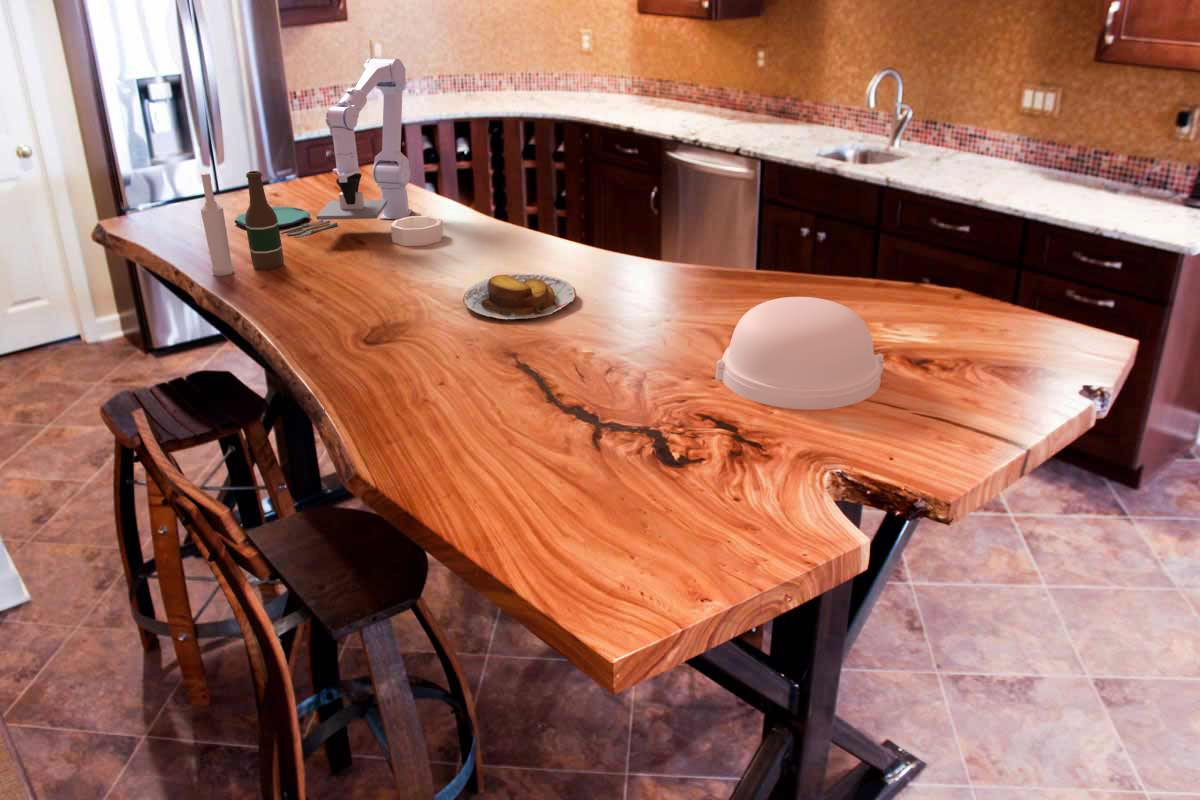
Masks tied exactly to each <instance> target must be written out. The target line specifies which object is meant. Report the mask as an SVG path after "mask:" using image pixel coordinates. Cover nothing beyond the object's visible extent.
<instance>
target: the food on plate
mask: <svg viewBox="0 0 1200 800" xmlns="http://www.w3.org/2000/svg"><path fill="white" fill-rule="evenodd" d="M575 299H577V292H576V288H574V286H573V285H571V283H570V282H569V281H566V280H564V279H561V278H558V277H555V276H549V275H545V274H533V273H526V274H525V273H515V274H497V275H494V276H491V278H489V279H484V280H483V281H482V280H481V281H480V282H479V283H476V284H475V285H473V286H471V287H469V288H468V289H467V291H466V292H464V295H463V297H462V301H461V302H462V303H463V304H464V306H465V307H466V308H468V310H470V311H473V313H475V314H477V315H483V316H486V317H488V318H489V317H492V318H494V319H495V318H496V319H498V320H499V319H500V320H501V319H502V320H507V321H508V320H516V319H518V320H519V319H527V320H528V319H536V318H539V317H545V316H548V315H552V314H553V313H555V312H557V311H558V310H561V309H562V308H564V307H566V306H568V305H569V303H570V302H572V303H573V302H574V301H575ZM493 313H495V314H499V315H495V314H493ZM536 313H539V314H536ZM568 313H569V311H566V314H568ZM501 315H502V316H501Z"/></svg>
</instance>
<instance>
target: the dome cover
mask: <svg viewBox="0 0 1200 800" xmlns="http://www.w3.org/2000/svg"><path fill="white" fill-rule="evenodd" d="M729 344H730V345H729V346H728V347H727V348H726V349H725V351H724V353H723V355H722V357H721V359H720V358H719V359H718V360H717V362H716V369H715V371H716V372H715V380H716V381H717V380H718V381H722V383H723V384H724V385H725V386H726V387H727V388H728V389H729V390H731V392H734V393H735V394H736V395H738V396H740V397H742V398H744V399H747V400H750V401H753V402H755V403H759V404H763V405H767V406H771V407H776V408H783V409H791V410H806V411H807V410H810V411H811V410H813V411H814V410H828V409H837V408H842V407H846V406H851V405H854V404H857V403H860V402H863V401H865V400H867V399H868V398H870V397H871V396H873V395H874V394H875V393H876V392H877V391H878V390H879V388H880V386H881V376H882V375H881V374H883V373H884V354H883V353H877V354H876V353H875V349H874V342H873V338H872V335H871V331H870V329H869V327H868V326H867V324H866V322H865V321H864V320H863V318H862V317H861V316H860V315H858V314H857V313H856V312H855V311H854V310H853V309H850V308H849V307H847V306H845V305H843V304H840V303H838V302H836V301H833V300H828V299H824V298H819V297H811V296H810V297H809V296H788V297H787V296H786V297H779V298H775V299H770V300H767V301H764V302H762V303H760V304H757V305H755V306H753V307H752V308H750V309H749V310H748V311H746V312H745V313H744V315H743V316H742V317H740V320H739V321H738V322H737V324H736V325H735V328H734V330H733V333H732V336H731V340H730V343H729Z"/></svg>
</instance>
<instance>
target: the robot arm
mask: <svg viewBox="0 0 1200 800" xmlns="http://www.w3.org/2000/svg"><path fill="white" fill-rule="evenodd" d="M374 88H376V89H378V90H379V91H381V93H382V94H383V95H382V96H383V102H382V103H383V104H382V105H383V106H382V107H383V108H382V109H383V111H382V143H381V144H382V145H381V147H382V148H381V149H382V150H381V151H380V152H379V153H378V154H377V155H375V156H374V162H373V166H372V169H371V170H372V171H371V175H372V179H373V181H374V183H376V184H377V187H380V188H379V189H380V197H381V200H387V204H386V206H385V207H384V209H383V210H382V213H381V214H380V218H379V219H380V220H398V219H402V218H406V217H410V215H411V214H412V211H413V208H410V206H409V200H408V191H407V190H408V189H407V188H406V186H408V184H409V183H410V181H411V176H412V172H411V167H410V160H409V158H408V157H407V156H405V154H403V152H401V144H402V143H401V142H402V120H403V119H402V115H403V114H402V113H403V91H405V90H406V67H405V65H404V64H403V62H402V60H401V59H400V58H373V57H369V58H367V59H366V61H365V63H364V64H363V74H362V75H361V77H360V79H359V80H358V82H357V84H356V85H355V87H351V88H347V90H346V92H345V93H344V94H343V96H342V97H341V99H340V100H339V101H338V102H337V103H336V105H335V106H330V108H328V109H327V112H326V116H325V117H326V118H325V122H326V125H327V127H328V129H329V134H330V136H332V142H333V148H334V149H333V150H334V156H335V164H336V168H333V169H332V173H335V174H337V175H338V178H336V179H335V181H336V182H335V183H336V184H337V185H338V187H339V188H340V190H341V192H342V193H343V195H344V198H345V201H346V203H347V205H349V204H355V192H359V186H360V181H361V178H362V173H360V171H361V170H360V167H359V159H358V152H357V145H356V134H355V128H356V127H357V125H358V119H359V116H360V113H361V111H362V110H363V108H364V107H365V106H366V104H367V96H368V95H369V93H371V92H372V90H373V89H374Z"/></svg>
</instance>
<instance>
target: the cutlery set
mask: <svg viewBox="0 0 1200 800" xmlns="http://www.w3.org/2000/svg"><path fill="white" fill-rule="evenodd" d="M271 208H272V209H273V210H274V212H275V214H276V216H277V220H278V226H279V228H285V227H289V226H292V225H295V224H298V223H301V222H302V221H304V220H305V219H307V218H308V221H310V218H311V213H310V212H309V211H307V210H304V209H302V208H297V207H291V206H284V205H283V206H271ZM245 216H246V212H245V213H242V214H239V215H237V217H236V218H235V220H234V223H235V224H237V225H240V226H243V227H245V228H246V223H245ZM327 224H328V225H327ZM311 225H312V226H311ZM322 225H323V227H320V226H322ZM324 225H326V226H324ZM338 225H339V224H338V222H333V223H331V220H325V221H324V220H317V221H315V222H310V223H304V224H301V225H300V226H297V227H293V228H292V227H291V228H289V229H286V230H285V229H284V230H283V231H280V232H281V233H280V235H281V234H285V233H286V234H287V236H288V235H289V236H293V237H294V238H296V239H299V238H303V237H305V236H311V235H313V234H314V233H315V232H321V231H326V230H328V229H330V228H334V227H338ZM309 226H310V227H309ZM307 227H308V228H307ZM316 227H320V228H317V229H313V228H316Z"/></svg>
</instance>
